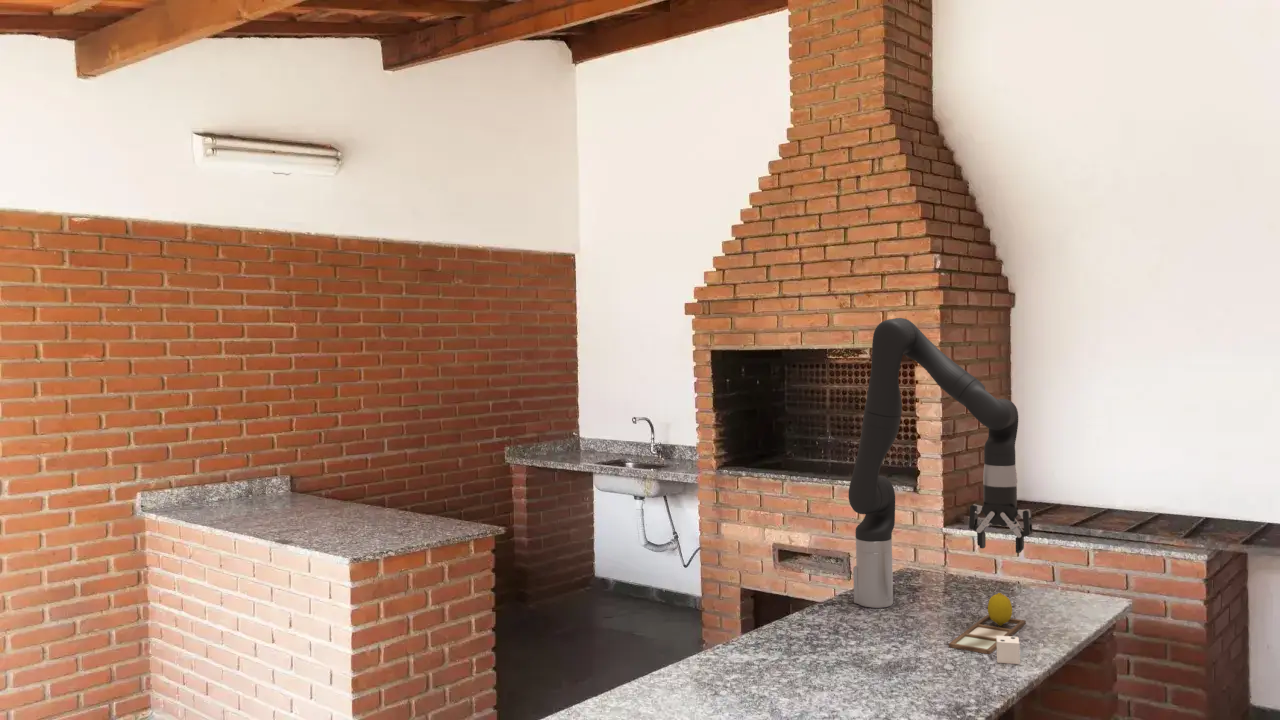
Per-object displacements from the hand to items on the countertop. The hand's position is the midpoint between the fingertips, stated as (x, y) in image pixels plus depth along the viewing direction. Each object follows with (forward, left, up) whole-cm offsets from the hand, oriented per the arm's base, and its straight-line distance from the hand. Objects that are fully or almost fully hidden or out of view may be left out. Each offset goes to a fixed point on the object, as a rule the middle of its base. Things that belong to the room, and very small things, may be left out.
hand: (1000, 550), depth 238 cm
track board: (0, -9, -18) cm, 20 cm away
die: (+9, -24, -18) cm, 31 cm away
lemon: (0, -1, -18) cm, 18 cm away
